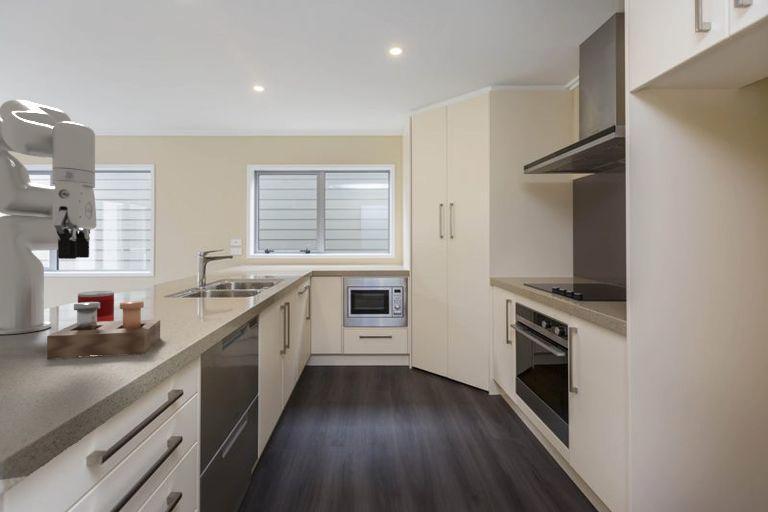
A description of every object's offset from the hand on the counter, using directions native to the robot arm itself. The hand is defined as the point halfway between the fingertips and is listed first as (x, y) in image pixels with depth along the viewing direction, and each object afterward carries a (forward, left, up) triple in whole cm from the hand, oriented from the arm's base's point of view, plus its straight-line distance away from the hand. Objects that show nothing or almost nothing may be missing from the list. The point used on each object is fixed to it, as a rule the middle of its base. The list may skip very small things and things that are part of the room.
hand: (74, 257), depth 86 cm
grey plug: (+3, 0, -18) cm, 18 cm away
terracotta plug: (+12, 0, -18) cm, 21 cm away
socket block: (+7, 0, -22) cm, 23 cm away
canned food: (-2, +18, -22) cm, 28 cm away
